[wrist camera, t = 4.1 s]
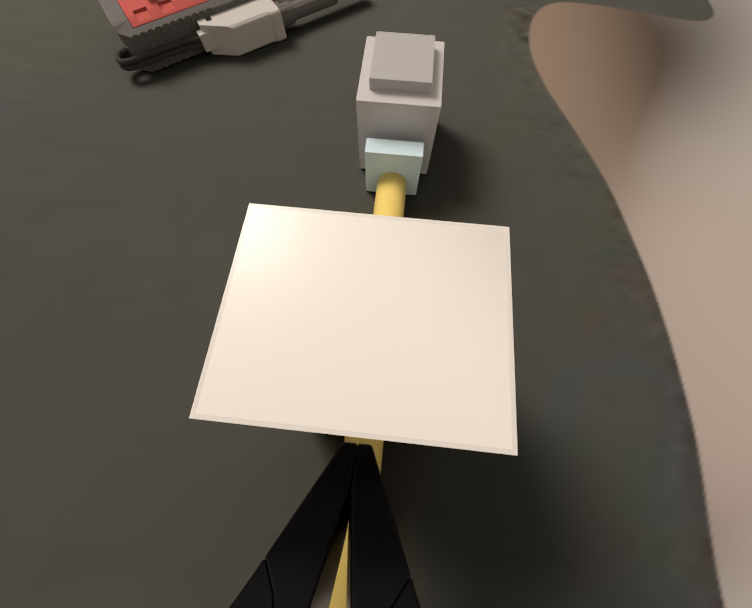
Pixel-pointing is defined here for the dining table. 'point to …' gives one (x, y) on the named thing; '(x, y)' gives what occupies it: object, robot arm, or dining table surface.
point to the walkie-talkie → (199, 27)
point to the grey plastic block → (398, 105)
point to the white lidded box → (366, 330)
